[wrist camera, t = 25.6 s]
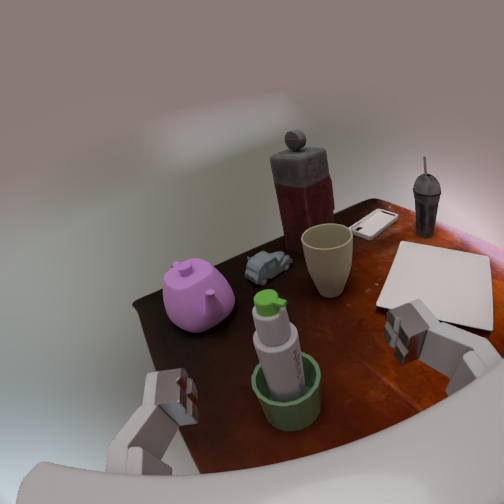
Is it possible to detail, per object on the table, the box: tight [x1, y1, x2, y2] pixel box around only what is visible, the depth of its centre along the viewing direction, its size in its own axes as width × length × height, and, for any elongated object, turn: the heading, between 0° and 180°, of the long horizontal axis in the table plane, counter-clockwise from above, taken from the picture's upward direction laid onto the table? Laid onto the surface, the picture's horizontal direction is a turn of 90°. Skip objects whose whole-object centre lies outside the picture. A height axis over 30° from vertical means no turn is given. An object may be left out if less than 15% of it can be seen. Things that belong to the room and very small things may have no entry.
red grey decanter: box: [270, 130, 334, 255], centre depth 63 cm, size 9×11×28 cm
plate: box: [376, 241, 493, 331], centre depth 45 cm, size 22×22×2 cm
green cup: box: [252, 352, 322, 431], centre depth 32 cm, size 8×8×8 cm
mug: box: [301, 224, 353, 298], centre depth 51 cm, size 11×10×12 cm
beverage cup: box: [413, 157, 441, 238], centre depth 57 cm, size 7×7×20 cm
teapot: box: [163, 258, 235, 333], centre depth 52 cm, size 20×13×12 cm, turn 36°
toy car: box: [244, 251, 292, 286], centre depth 62 cm, size 6×10×5 cm, turn 127°
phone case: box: [349, 209, 398, 240], centre depth 70 cm, size 7×1×15 cm
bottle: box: [252, 290, 307, 403], centre depth 29 cm, size 4×4×20 cm
